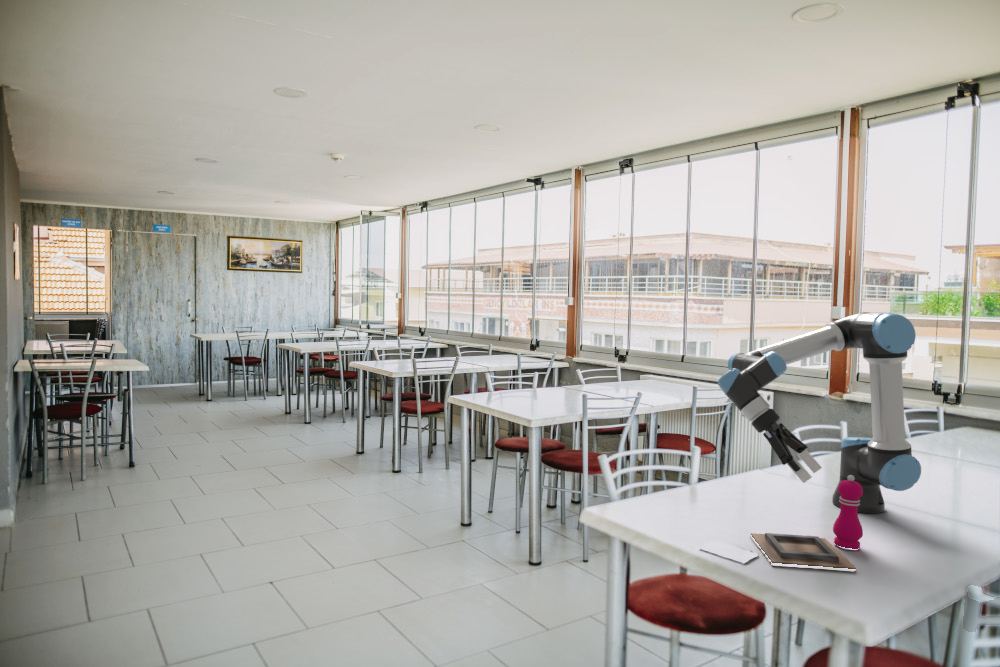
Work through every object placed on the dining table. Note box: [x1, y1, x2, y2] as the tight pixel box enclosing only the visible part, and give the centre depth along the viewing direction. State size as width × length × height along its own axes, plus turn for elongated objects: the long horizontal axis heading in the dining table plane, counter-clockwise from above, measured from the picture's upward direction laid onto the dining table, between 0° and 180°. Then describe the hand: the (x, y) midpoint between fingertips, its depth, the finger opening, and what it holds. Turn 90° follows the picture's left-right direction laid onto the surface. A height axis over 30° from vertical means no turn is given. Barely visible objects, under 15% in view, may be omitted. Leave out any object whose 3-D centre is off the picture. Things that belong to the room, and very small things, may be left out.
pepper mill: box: [832, 475, 864, 549], centre depth 176 cm, size 7×7×20 cm
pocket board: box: [750, 532, 857, 570], centre depth 171 cm, size 20×20×3 cm
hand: (813, 475), depth 181 cm, fingers open, 13 cm apart
